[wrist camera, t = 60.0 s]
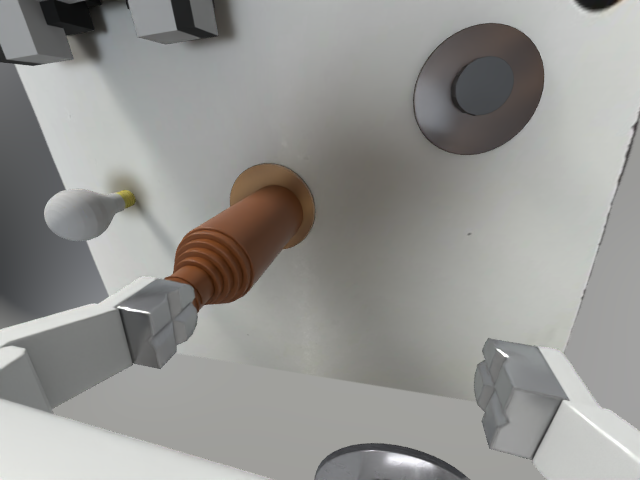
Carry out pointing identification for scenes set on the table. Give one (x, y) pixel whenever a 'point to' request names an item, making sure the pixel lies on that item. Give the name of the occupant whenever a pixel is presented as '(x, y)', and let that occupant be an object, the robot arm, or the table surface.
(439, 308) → the table surface
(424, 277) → the table surface
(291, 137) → the table surface
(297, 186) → the coaster
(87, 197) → the light bulb
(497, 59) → the cap
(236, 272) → the bottle
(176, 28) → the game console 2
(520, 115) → the dish
